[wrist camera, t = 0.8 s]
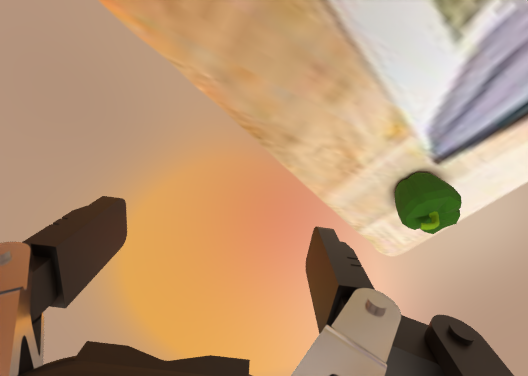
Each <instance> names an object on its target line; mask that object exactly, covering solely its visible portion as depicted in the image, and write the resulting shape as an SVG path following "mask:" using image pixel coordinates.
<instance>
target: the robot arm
mask: <svg viewBox="0 0 528 376" xmlns="http://www.w3.org/2000/svg"><path fill="white" fill-rule="evenodd" d="M126 236H127V220H126V203H125V200H124V199H121V198H114V197H107V196H102V197H101V198H99V199H97V200H96V201H94V202H93V203H92V204H90V205H89V206H85V207H82V208H79V209H76V210H73V211H71V212H70V213H68V214H66V215H65V216H63V217H62V219H59V220H57V221H56V222H54V223H53V225H52V224H51V225H49V226H47V227H46V228H44V229H43V230H41V231H39V232H38V233H36V234H35V235H33V236H31V237H30V238H28V239H27V240H25V241H23V242H22V243H21V242H4V243H0V376H252V375H249V361H250V360H246V359H237V358H228V357H220V356H211V355H210V356H203V357H195V358H188V359H180V360H173V361H164V360H160V359H158V358H156V357H153V356H151V355H149V354H146V353H144V352H141V351H139V350H137V349H134V348H132V347H129V346H125V345H116V344H108V343H99V342H90V341H87V342H86V343H85V345H84V346H83V348H82V349H81V350H80V352H79V353H78V355H77V356H72V357H68V358H63V359H59V360H56V361H53V362H50V363H47V364H44V365H43V356H44V355H43V354H44V316H43V311H45V310H46V308H48V307H49V306H51V307H59V308H66V307H67V306H68V305H69V304H70V303H71V302H72V301H73V300H74V299H75V298H76V296H77V295H78V294H79V293H80V292H81V291H82V290H83V289H84V288H85V287H86V286H87V284H88V283H89V282H90V281H91V280H92V279H93V278H94V277H95V276H96V275H97V274H98V272H99V271H100V270H101V269H102V268H103V267H104V266H105V265H106V264H107V262H108V261H109V260H110V259H111V258H112V257H113V256H114V255H115V254H116V253H117V252H118V251H119V250H120V248H121V247H122V246H123V244H124V242H125V240H126ZM361 266H362V265H361V263H360V262H359V260H358V258H357V256H356V254H355V252H354V250H353V249H352V248H350V247H349V246H348V245H347V244H346V243H344V242H340V241H339V239H338V237H337V235H336V233H335V231H334V229H329V228H322V227H315V228H314V231H313V234H312V238H311V243H310V246H309V250H308V254H307V258H306V274H307V278H308V283H309V288H310V292H311V297H312V302H313V306H314V311H315V315H316V320H317V324H318V328H319V334H320V335H319V336H318V337H317V339H316V340H315V342H314V343H313V345H312V346H311V348H310V349H309V350H308V352H307V353H306V355H305V356H304V358H303V359H302V361H301V362H300V364H299V365H298V366H297V368H296V369H295V371H294V372H293V374H292V375H291V376H514V375H513V374H512V373H511V372H510V370H509V369H508V368H507V367H506V365H505V364H504V363H503V362H502V360H501V359H500V358H499V357H498V355H497V354H496V353H495V352H494V351H493V350H492V348H491V347H490V346H489V345H488V343H487V342H486V341H485V340H484V339H483V337H482V336H481V335H480V334H479V333H478V332H476V331H475V330H474V329H473V328H471V327H470V326H468V325H467V324H465V323H464V322H462V321H460V320H458V319H455V318H453V317H450V316H446V315H436V316H434V317H433V318H432V320H431V322H430V324H429V325H426V324H424V323H421V322H418V321H416V320H413V319H410V318H407V317H405V316H402V315H401V312H400V309H399V308H398V306H397V305H396V304H395V302H394V301H393V300H391V299H390V298H389V297H388V296H386V295H385V294H383V293H381V292H379V291H376V290H375V289H374V287H373V286H372V284H371V282H370V280H369V278H368V276H367V274H366V272H365V271H364V269H363V267H361Z"/></svg>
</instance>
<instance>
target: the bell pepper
mask: <svg viewBox="0 0 528 376" xmlns="http://www.w3.org/2000/svg"><path fill="white" fill-rule="evenodd" d="M395 203H396V208H397V212H398V215H399V217H400V219H401V221H402V224H404V225H405V226H407V227H408V228H411V229H414V230H416V229H419V228H420V229H421V230H423V231H424V232H427V233H431V234H434V233H436V232H437V231H439V230H441V229H442V228H444V227H447V226H450V225H453V224H456V223H457V221H458V219H459V217H460V210H459V209H460V207H461V196H460V195H459V193H458V192H457V191H456V190H455V189H454V188H453V187H452V186H450V185H449V184H448V183H446V182H445V181H443V180H441V179H440V178H438V177H436V176H434V175H432V174H430V173H415V174H413V175H411V176H410V177H409V178H408V179H404V180H403V181H401V182H400V183H399V184H398V186H397V188H396V191H395Z"/></svg>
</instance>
